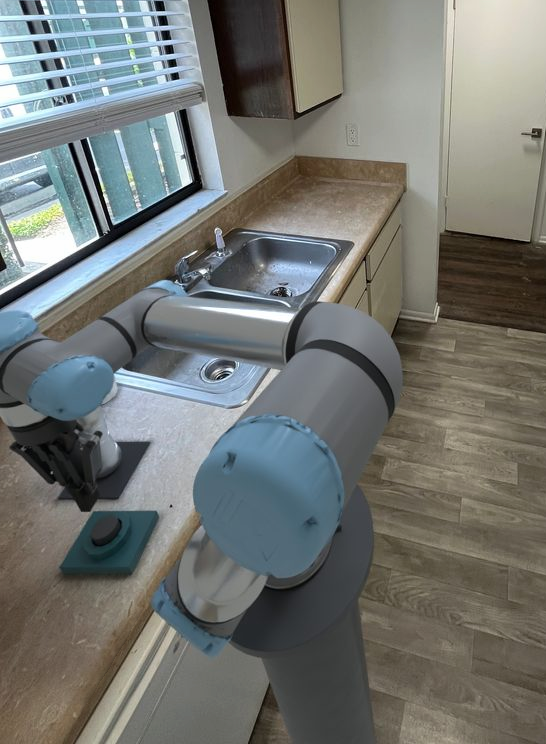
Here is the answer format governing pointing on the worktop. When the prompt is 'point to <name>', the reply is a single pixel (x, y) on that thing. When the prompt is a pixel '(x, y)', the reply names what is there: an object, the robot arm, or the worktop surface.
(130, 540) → the teal pump base
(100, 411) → the silver bottle
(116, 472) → the mat
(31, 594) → the worktop surface
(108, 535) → the button
